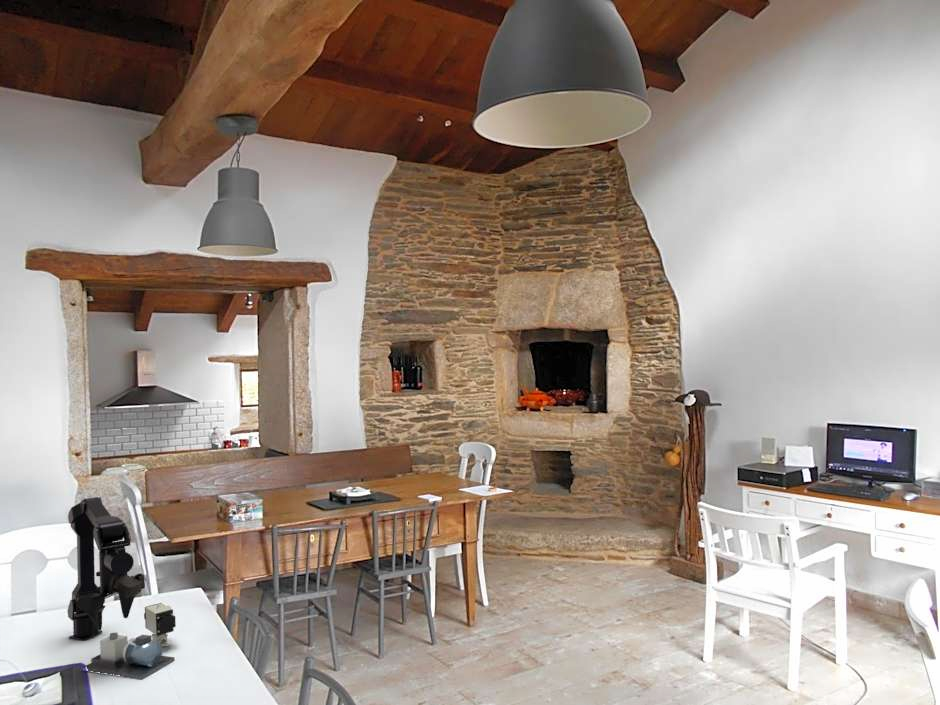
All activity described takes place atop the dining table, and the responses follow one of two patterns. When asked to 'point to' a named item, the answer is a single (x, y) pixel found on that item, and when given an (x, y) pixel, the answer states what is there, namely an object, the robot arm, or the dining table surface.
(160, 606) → the pneumatic valve
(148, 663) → the motor mount
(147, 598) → the dining table surface
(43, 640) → the dining table surface
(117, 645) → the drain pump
